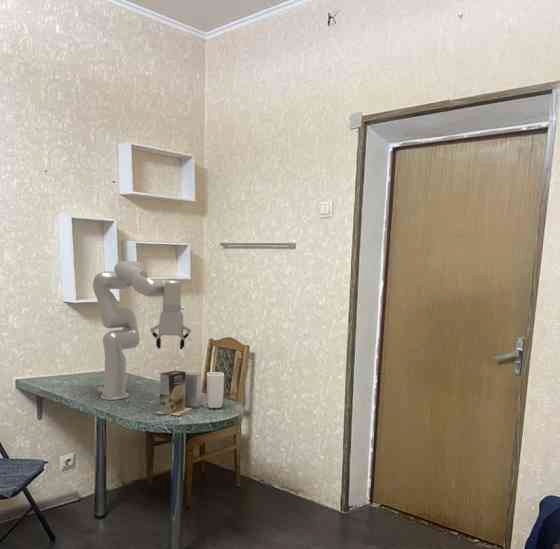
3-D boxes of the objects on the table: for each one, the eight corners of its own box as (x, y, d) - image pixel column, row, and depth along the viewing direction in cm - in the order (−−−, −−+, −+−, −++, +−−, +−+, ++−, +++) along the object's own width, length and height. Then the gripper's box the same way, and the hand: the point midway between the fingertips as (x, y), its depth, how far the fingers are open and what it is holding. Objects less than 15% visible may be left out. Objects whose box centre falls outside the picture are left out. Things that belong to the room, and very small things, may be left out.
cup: (206, 405, 217) (206, 372, 217) (222, 405, 218) (223, 372, 218) (206, 409, 210) (207, 375, 210) (223, 409, 211) (224, 375, 211)
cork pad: (153, 414, 202) (153, 412, 202) (166, 407, 213) (166, 405, 213) (179, 416, 199) (179, 415, 199) (191, 409, 209) (191, 408, 209)
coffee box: (169, 413, 200) (170, 375, 200) (158, 411, 204) (159, 373, 204) (185, 409, 208) (186, 371, 208) (174, 406, 211) (175, 370, 212)
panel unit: (172, 406, 214) (173, 374, 214) (178, 403, 220) (179, 371, 220) (197, 409, 211) (198, 375, 211) (203, 405, 216) (203, 373, 217)
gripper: (192, 308, 213) (191, 347, 213) (153, 307, 212) (151, 346, 213) (190, 310, 206) (189, 350, 206) (149, 309, 205) (148, 349, 205)
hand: (170, 348), depth 209 cm, fingers open, 9 cm apart
